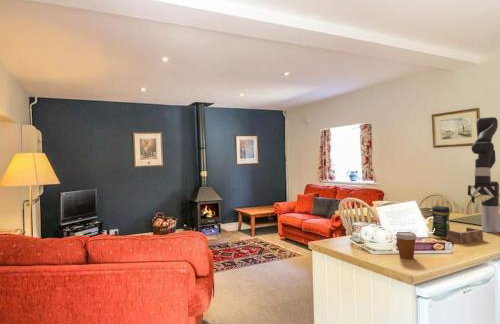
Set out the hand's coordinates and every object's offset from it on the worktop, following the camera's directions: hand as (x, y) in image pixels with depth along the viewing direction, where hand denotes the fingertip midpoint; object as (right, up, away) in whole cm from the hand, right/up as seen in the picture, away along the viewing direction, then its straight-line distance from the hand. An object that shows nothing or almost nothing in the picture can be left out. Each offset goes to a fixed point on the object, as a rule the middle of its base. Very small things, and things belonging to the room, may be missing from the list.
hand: (482, 203), depth 187 cm
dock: (-7, -23, +5) cm, 24 cm away
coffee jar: (-12, -23, +20) cm, 33 cm away
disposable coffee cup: (-56, -24, -25) cm, 66 cm away
